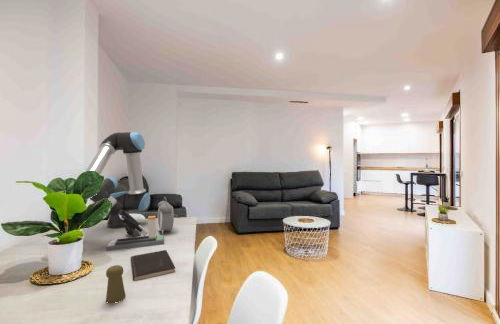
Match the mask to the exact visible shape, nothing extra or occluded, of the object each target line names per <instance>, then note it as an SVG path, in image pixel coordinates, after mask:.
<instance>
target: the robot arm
mask: <svg viewBox="0 0 500 324" xmlns="http://www.w3.org/2000/svg"><path fill="white" fill-rule="evenodd" d="M145 145H146V144H145V139H144V136H143V135H142V134H141V133H140V132H136V131H129V132H128V131H127V132H124V131H123V132H114V133H112V134H110V135H108V136H107V137H106V138H104V140H102V141H101V143H100V144H99V150H98V151H97V152H96V154H95V156H94V157H93V159H92V160H91V162H90V164H89V165H88V167H87V168H86V170H85V172H86V171H96V172H98V173H99V174H100V175H101V174H102V172H103V170H104V169H105V167H106V165H107V163H108V162H109V160H110V159H111V156H112V155H114V154H115V153H116V152H117V151H122V153H123V155H125V161H126V168H127V169H126V170H127V177H128V184H129V185H128V186H129V190H128V191H127V190H126V191H119V192H114V191H115V189H116V188H118V184H119V182H118V180H117V179H116V178H115V177H113V176H108V177H106V178H104V179H103V180H104V183H103V186H102V189H101V191H100V192H99V193H98V194H97V195H95V196H93V197H92V198H90V199H89V200H90V201H92V202H93V203H94V204H96V202H97V201H99V200H101V199H103V198H107V199H108V200H109V201H111V203H112V208H111V211H110V213H109V214H108V215H109V216H108V219H107V223H106V227H107V228H109V229H118V228H125V226H124V224H127V225H128V226H130V227H131V228H132V229H133V230H135V229H136V230H137V231H138V232H139V233H141V235H142V236H144V237H145V236H148V235H149V230H146V228H144V227H143V226H142V225H141V223H140V222H138V221H137V220H136V219H135V218H134V217H133V216H132V215H131V214H129V211H145V210H147V208H148V207H149V206H150V203H151V195H150V193H149V192H147V189H146V188H145V187H144V182H143V181H144V180H143V173H142V163H141V162H142V161H141V153H142V152H143V150H144V149H145ZM112 192H114V193H112Z"/></svg>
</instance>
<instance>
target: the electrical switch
mask: <svg viewBox="0 0 500 324" xmlns="http://www.w3.org/2000/svg"><path fill="white" fill-rule="evenodd" d="M124 226H125V227H124V229H125V232H126V235H128V236H130V237H141V235H142V234H141V233H139V232H138V231H137V230H136V229H135V230H133V229H132V228H131V227H130V226H128V225H127V224H124Z"/></svg>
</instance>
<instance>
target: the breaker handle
mask: <svg viewBox="0 0 500 324" xmlns="http://www.w3.org/2000/svg"><path fill="white" fill-rule="evenodd" d="M156 219H157V217H156V215H148V216H147V221H148V223H147V224H148V236H149V239H152V238H156V236H157V227H156V226H157V223H156V221H157V220H156Z"/></svg>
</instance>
